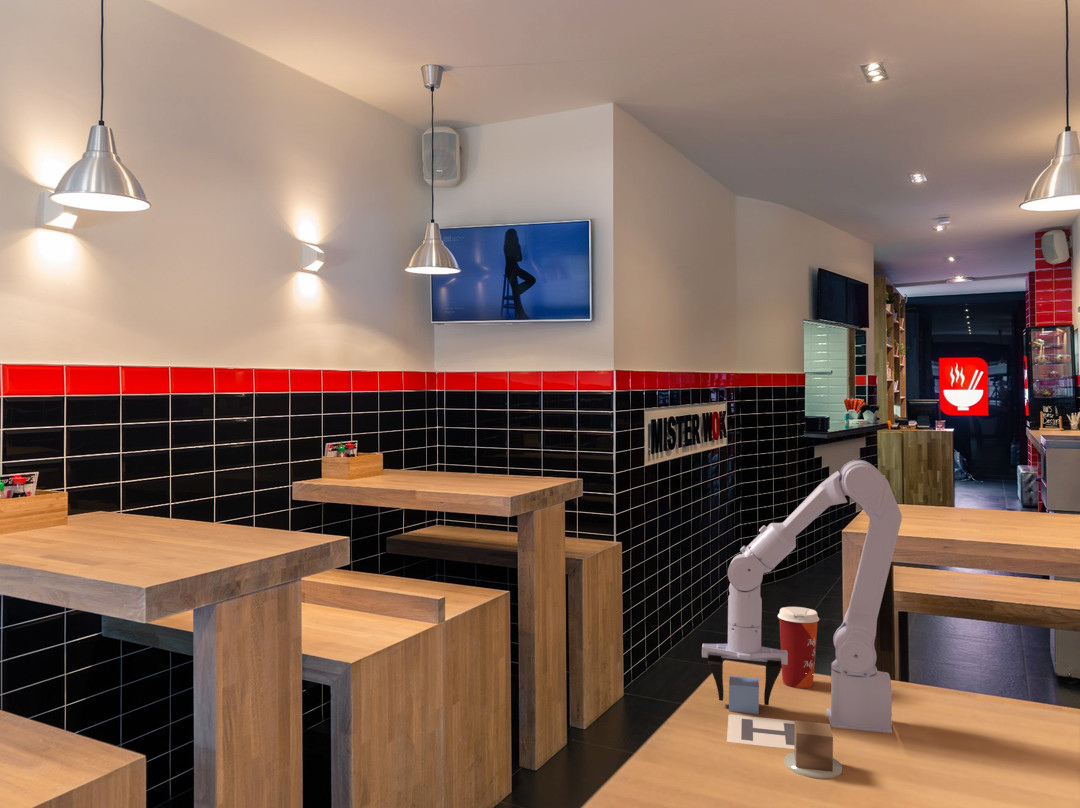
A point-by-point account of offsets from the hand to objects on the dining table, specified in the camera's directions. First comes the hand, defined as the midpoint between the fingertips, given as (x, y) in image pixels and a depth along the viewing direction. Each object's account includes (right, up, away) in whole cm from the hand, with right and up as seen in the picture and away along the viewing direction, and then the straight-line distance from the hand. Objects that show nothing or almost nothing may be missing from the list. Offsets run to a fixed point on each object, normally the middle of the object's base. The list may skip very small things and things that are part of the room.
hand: (743, 700), depth 143 cm
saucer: (+4, -1, -23) cm, 24 cm away
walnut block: (+4, -1, -23) cm, 24 cm away
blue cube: (0, -2, 0) cm, 2 cm away
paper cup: (+14, -2, +14) cm, 20 cm away
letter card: (+1, -1, -11) cm, 11 cm away
